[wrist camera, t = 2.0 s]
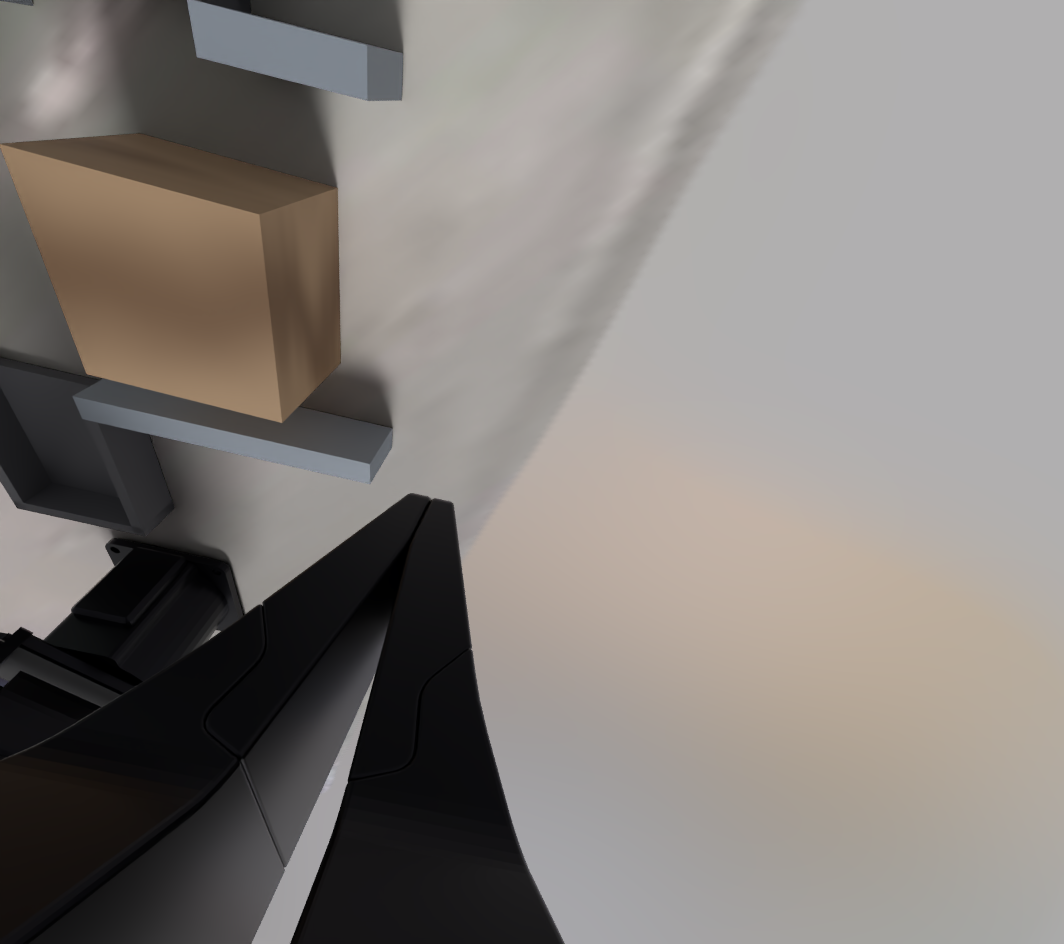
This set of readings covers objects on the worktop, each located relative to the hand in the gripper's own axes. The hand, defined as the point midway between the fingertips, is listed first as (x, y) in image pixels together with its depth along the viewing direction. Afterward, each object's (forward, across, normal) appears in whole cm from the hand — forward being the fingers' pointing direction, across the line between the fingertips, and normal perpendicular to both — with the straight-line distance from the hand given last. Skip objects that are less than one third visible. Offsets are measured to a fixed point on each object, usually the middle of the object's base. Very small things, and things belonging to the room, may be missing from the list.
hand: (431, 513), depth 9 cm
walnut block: (+10, +9, 0) cm, 13 cm away
